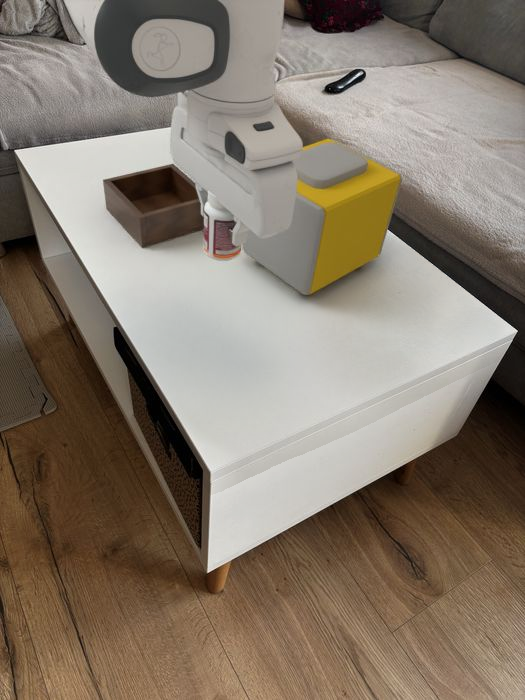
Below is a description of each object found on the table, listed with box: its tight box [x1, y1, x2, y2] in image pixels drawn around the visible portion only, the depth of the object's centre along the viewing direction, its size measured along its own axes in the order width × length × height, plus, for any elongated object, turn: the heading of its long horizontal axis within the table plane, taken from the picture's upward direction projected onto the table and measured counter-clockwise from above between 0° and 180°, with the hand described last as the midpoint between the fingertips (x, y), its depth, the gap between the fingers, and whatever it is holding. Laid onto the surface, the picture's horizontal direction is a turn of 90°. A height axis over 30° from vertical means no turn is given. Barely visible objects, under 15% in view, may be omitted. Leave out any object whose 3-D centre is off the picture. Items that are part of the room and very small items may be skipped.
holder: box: [102, 163, 204, 249], centre depth 97 cm, size 14×14×6 cm
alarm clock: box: [242, 137, 403, 296], centre depth 88 cm, size 20×16×18 cm
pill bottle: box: [202, 191, 243, 262], centre depth 66 cm, size 5×5×8 cm
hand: (223, 229), depth 66 cm, fingers closed on pill bottle, 5 cm apart
